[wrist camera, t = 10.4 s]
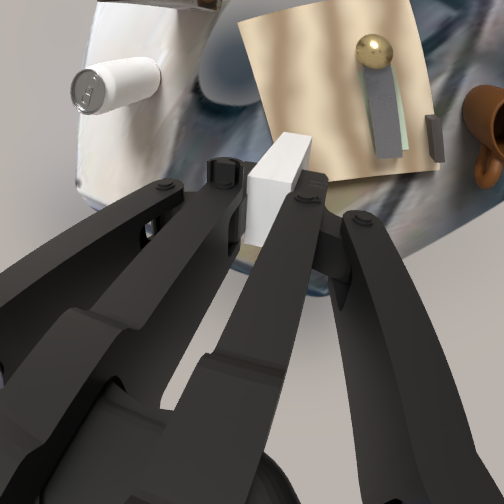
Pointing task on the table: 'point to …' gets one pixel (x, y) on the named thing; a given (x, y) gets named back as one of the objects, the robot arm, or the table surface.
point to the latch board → (343, 84)
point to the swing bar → (381, 94)
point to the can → (114, 84)
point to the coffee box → (176, 4)
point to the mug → (486, 131)
